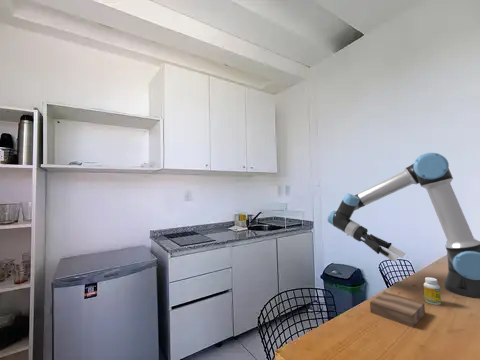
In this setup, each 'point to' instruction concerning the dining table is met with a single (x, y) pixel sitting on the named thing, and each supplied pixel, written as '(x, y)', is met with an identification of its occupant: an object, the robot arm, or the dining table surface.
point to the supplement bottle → (432, 291)
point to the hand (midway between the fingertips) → (400, 257)
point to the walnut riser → (398, 308)
